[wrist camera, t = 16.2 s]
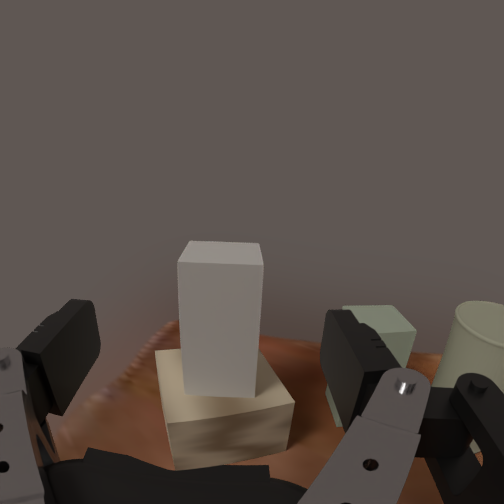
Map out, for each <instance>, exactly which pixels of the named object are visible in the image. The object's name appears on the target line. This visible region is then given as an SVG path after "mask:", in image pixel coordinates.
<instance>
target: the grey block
mask: <svg viewBox="0 0 504 504" xmlns="http://www.w3.org/2000/svg"><path fill="white" fill-rule="evenodd" d="M177 263H178V264H177V267H178V298H179V299H178V300H179V323H180V341H181V356H182V370H183V383H184V394H185V395H196V396H213V397H239V398H255V385H256V372H257V358H258V344H259V330H260V315H261V300H262V285H263V269H264V264H263V259H262V255H261V251H260V247H259V244H258V243H236V242H209V241H189V243H188V245H187V246H186V248H185V250H184V251H183V253H182V255H181V256H180V258H179V260H178V262H177Z"/></svg>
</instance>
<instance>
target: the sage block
mask: <svg viewBox="0 0 504 504" xmlns="http://www.w3.org/2000/svg"><path fill="white" fill-rule="evenodd" d="M346 309H350V310H351V311H352V313H353V314H354V316H355V317H356V319H357V320H358V321H359V323H365V324H367V325H368V326H370V327H371V328H373V329H374V330H376V332H377V333H378V334H379V336H380V337H381V340H383V341H384V343H385V344H386V347H388V348H389V350H390V351H391V353H392V354H393V355H394V357H395V358H396V360H397V361H398V363H399V364H400V365H401V367H402V368H406V365H407V362H408V359H409V356H410V352H411V349H412V346H413V343H414V339H415V335H416V332H417V330H416V329H415V328H414V327H413V326H412V325H411V324H410V323H409V322H408V321H407V320H406V319H405V318H404V317H403V316H402V315H401V314H400V313H399V312H398V311H397V310H396V308H395V307H394V306H392V305H380V306H343V307H342V310H346ZM325 395H326V397H327V400H328V403H329V406H330V409H331V412H332V415H333V418H334V421H335V423H336V426H337V427H343V426H342V423H341V420H340V417H339V414H338V412H337V409H336V406H335V403H334V400H333V398H332V395H331V392H330V389H329V387H328V384H327V388H326V392H325Z"/></svg>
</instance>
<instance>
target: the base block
mask: <svg viewBox="0 0 504 504" xmlns="http://www.w3.org/2000/svg"><path fill="white" fill-rule="evenodd" d="M155 356H156V364H157V373H158V380H159V388H160V395H161V401H162V407H163V413H164V418H165V424H166V429H167V434H168V439H169V444H170V448H171V453H172V457H173V462H174V466H175V471H178V470H188V469H196V468H204V467H211V466H218V465H224V464H230V463H235V462H240V461H245V460H250V459H254V458H259V457H263V456H267V455H271V454H275V453H279V452H283V451H286V448H287V443H288V437H289V432H290V427H291V422H292V416H293V411H294V405H295V401H294V400H293V398H292V397H291V396H290V394H289V393H288V391H287V390H286V388H285V387H284V385H283V384H282V382H281V381H280V380H279V378H278V377H277V375H276V374H275V372H274V371H273V369H272V368H271V366H270V365H269V363H268V362H267V360H266V359H265V357H264V356H263V354H262V353H261V352H260V350H259V349H258V358H257V372H256V385H255V398H239V397H213V396H196V395H185V394H184V383H183V370H182V356H181V349H173V350H160V351H155Z"/></svg>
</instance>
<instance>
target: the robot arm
mask: <svg viewBox="0 0 504 504" xmlns="http://www.w3.org/2000/svg"><path fill="white" fill-rule="evenodd" d="M100 345H101V343H100V336H99V331H98V326H97V320H96V315H95V308H94V305H93V303H92V302H91V301H89V300H77V299H71V300H69V301H68V302H67V303H66V304H65V305H64V306H63V307H62V308H61V309H60V310H59V311H58V312H56V313H54V314H52V315H50V316H48V317H47V318H46V319H45V320H44V321H43V322H42V323H41V324H40V326H38V327H36V329H34V332H31V333H30V334H29V336H27V337H26V338H25V340H24V341H23V342H22V343H21V344H20V345H19V346H18V347H17V348H16V349H14V348H0V504H396V503H397V501H398V499H399V496H400V494H401V491H402V489H403V486H404V484H405V481H406V479H407V476H408V473H409V470H410V468H411V465H412V462H413V459H414V457H420V458H425V461H426V463H427V465H428V467H429V470H430V472H431V474H432V476H433V479H434V481H435V483H436V486H437V488H438V490H439V493H440V495H441V497H442V500H443V502H444V504H504V393H503V392H502V391H501V390H500V389H499V388H498V386H497V385H496V384H495V383H494V382H493V381H492V380H491V379H489V378H488V377H486V376H484V375H481V374H478V373H465V374H462V375H461V376H459V377H458V379H457V381H456V383H455V386H454V388H443V387H431V386H430V382H429V380H428V379H427V378H426V377H425V376H424V375H423V374H421V373H419V372H417V371H415V370H412V369H408V368H402V367H401V365H400V364H399V363H398V361H397V360H396V358H395V357H394V355H393V354H392V353H391V351H390V350H389V348H388V347H386V344H385V343H384V341H383V340H381V337H380V336H379V334H378V333H377V332H376V330H374V329H373V328H371V327H370V326H368V325H367V324H365V323H359V321H358V320H357V319H356V317H355V316H354V314H353V313H352V311H351V310H350V309H346V310H328V311H327V313H326V318H325V324H324V331H323V337H322V343H321V349H320V363H321V367H322V370H323V373H324V376H325V378H326V381H327V384H328V387H329V389H330V392H331V395H332V398H333V400H334V403H335V406H336V409H337V412H338V414H339V417H340V420H341V423H342V426H343V428H344V431H345V435H344V437H343V439H342V440H341V442H340V443H339V445H338V446H337V448H336V450H335V451H334V453H333V454H332V456H331V457H330V459H329V460H328V462H327V463H326V465H325V466H324V468H323V469H322V470H321V472H320V473H319V475H318V476H317V478H316V479H315V480H314V482H313V483H312V484H311V486H310V487H309V489H306V488H304V487H301V486H299V485H297V484H294V483H291V482H288V481H284V480H280V479H275V478H270V474H269V465H218V466H211V467H204V468H196V469H188V470H178V471H172V470H167V469H164V468H161V467H158V466H155V465H152V464H149V463H147V462H144V461H141V460H139V459H136V458H133V457H131V456H128V455H123V454H117V453H112V452H107V451H102V450H98V449H93V448H89V447H88V449H87V451H86V454H85V456H84V458H83V459H71V460H65V461H60V458H59V455H58V452H57V449H56V446H55V443H54V440H53V437H52V433H51V430H50V426H49V423H48V421H47V419H46V416H47V414H48V413H52V414H55V415H59V416H63V414H64V413H65V411H66V409H67V408H68V406H69V404H70V402H71V401H72V399H73V397H74V396H75V394H76V392H77V390H78V389H79V387H80V385H81V384H82V382H83V380H84V379H85V377H86V376H87V374H88V372H89V370H90V369H91V367H92V366H93V364H94V363H95V361H96V359H97V358H98V356H99V353H100ZM473 439H474V441H475V442H476V444H477V445H478V447H479V449H480V450H481V452H482V455H483V465H482V467H481V465H480V463H479V461H478V459H477V458H476V456H475V454H474V453H473V451H472V449H471V447H470V446H469V445H470V444H471V442H472V441H473Z"/></svg>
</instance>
